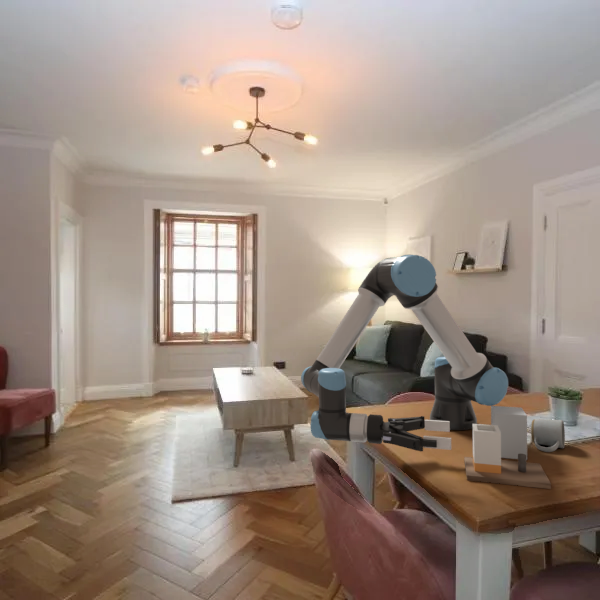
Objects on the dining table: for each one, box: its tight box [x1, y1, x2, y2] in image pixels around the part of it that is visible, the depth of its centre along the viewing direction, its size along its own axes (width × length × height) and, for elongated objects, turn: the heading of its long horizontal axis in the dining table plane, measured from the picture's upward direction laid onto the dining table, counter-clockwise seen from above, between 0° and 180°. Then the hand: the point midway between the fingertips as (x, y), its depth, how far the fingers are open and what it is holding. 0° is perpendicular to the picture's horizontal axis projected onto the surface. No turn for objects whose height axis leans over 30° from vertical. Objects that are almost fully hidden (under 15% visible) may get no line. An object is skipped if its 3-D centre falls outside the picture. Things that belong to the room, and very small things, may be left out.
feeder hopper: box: [490, 405, 528, 461], centre depth 122 cm, size 8×8×12 cm
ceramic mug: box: [530, 418, 566, 453], centre depth 127 cm, size 11×8×8 cm
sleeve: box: [472, 423, 502, 474], centre depth 110 cm, size 6×6×10 cm
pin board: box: [463, 453, 552, 490], centre depth 109 cm, size 12×18×5 cm, turn 72°
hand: (450, 434), depth 112 cm, fingers open, 13 cm apart
